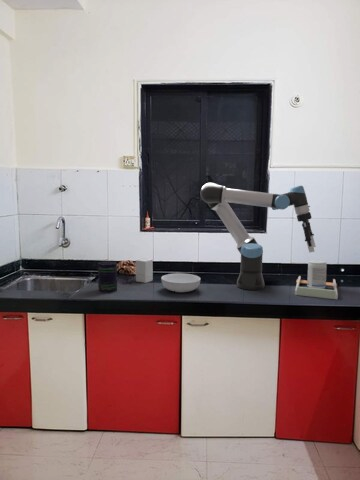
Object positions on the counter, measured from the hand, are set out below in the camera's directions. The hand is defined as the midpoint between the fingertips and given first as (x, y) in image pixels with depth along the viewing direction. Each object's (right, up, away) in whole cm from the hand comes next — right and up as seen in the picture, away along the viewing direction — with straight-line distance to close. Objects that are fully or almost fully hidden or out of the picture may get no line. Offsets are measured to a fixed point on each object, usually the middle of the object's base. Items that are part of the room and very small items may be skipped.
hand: (312, 249), depth 199 cm
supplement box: (-96, -19, +8) cm, 98 cm away
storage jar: (-113, -21, -13) cm, 116 cm away
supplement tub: (+1, -21, -3) cm, 21 cm away
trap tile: (+4, -20, +6) cm, 21 cm away
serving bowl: (-74, -22, -11) cm, 78 cm away
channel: (0, -21, -6) cm, 22 cm away
